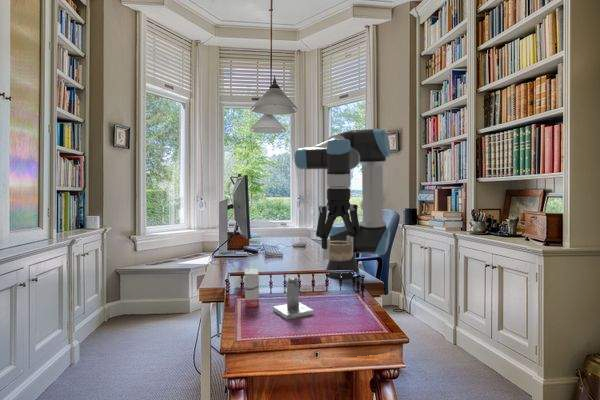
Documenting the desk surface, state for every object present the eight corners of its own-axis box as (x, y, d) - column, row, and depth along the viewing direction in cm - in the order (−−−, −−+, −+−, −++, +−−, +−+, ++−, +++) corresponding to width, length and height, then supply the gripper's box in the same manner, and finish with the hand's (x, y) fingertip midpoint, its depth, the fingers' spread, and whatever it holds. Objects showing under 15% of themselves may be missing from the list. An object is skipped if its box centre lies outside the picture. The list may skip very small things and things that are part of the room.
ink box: (258, 307, 149) (258, 273, 149) (244, 307, 149) (244, 274, 148) (259, 299, 158) (258, 268, 157) (245, 300, 158) (245, 268, 157)
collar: (341, 254, 145) (341, 240, 145) (356, 259, 138) (356, 243, 138) (320, 257, 141) (320, 242, 141) (335, 262, 134) (335, 246, 133)
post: (298, 306, 150) (298, 273, 149) (313, 314, 142) (313, 280, 141) (273, 310, 145) (272, 277, 145) (286, 319, 137) (286, 284, 136)
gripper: (357, 186, 146) (357, 252, 148) (304, 188, 136) (304, 258, 137) (372, 187, 140) (371, 256, 141) (316, 189, 129) (316, 263, 131)
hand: (338, 257), depth 139 cm, fingers closed on collar, 8 cm apart
